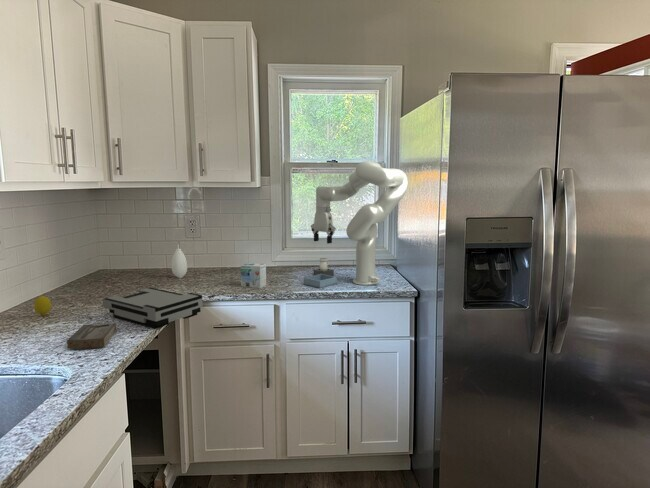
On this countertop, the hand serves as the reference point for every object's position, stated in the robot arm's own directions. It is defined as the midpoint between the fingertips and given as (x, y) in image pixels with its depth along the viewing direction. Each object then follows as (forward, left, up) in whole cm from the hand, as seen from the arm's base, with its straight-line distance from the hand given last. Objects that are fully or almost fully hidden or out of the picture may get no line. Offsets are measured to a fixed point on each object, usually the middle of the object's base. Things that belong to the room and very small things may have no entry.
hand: (322, 242), depth 236 cm
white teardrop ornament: (+53, +55, -18) cm, 78 cm away
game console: (0, +95, -19) cm, 97 cm away
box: (-11, +120, -19) cm, 122 cm away
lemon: (+31, +124, -18) cm, 129 cm away
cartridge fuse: (0, 0, -18) cm, 18 cm away
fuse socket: (-1, 0, -18) cm, 18 cm away
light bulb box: (+9, +40, -18) cm, 45 cm away
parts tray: (-13, +16, -18) cm, 28 cm away
